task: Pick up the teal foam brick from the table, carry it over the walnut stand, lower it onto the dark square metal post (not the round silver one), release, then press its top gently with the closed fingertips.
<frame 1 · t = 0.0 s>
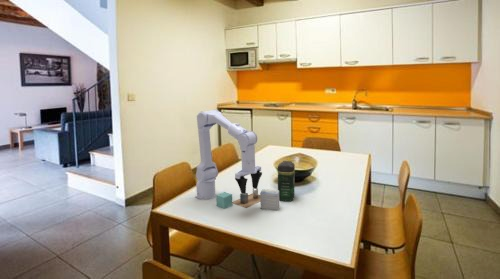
hand: (249, 190, 130), 10 cm above the table, fingers open, 7 cm apart
stand plate: (250, 201, 144), on the table
medicine box: (270, 209, 135), on the table
square post: (244, 202, 141), resting on stand plate
coffee jar: (286, 199, 146), on the table
round post: (255, 197, 147), resting on stand plate
teal foam brick: (224, 207, 139), on the table
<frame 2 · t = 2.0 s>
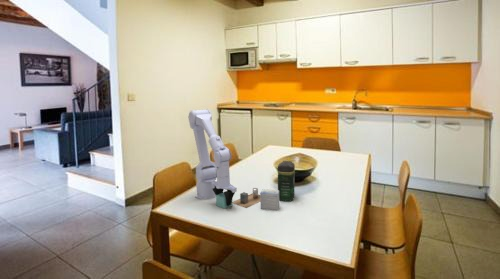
hand: (224, 203, 138), 2 cm above the table, fingers closed on teal foam brick, 5 cm apart
teal foam brick: (224, 207, 139), on the table, touching gripper
everything else where it was.
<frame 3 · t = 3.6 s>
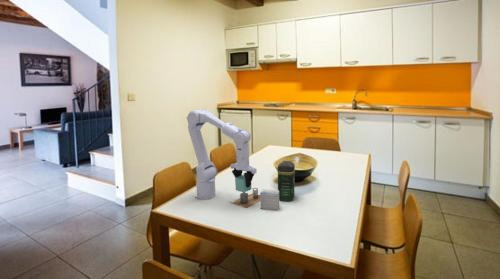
hand: (243, 185, 139), 9 cm above the table, fingers closed on teal foam brick, 5 cm apart
teal foam brick: (243, 189, 140), point 7 cm above the table, touching gripper
everything else where it was.
when the fingers open (4 cm above the table, at t = 5.4 s): teal foam brick stays where it is, resting on stand plate.
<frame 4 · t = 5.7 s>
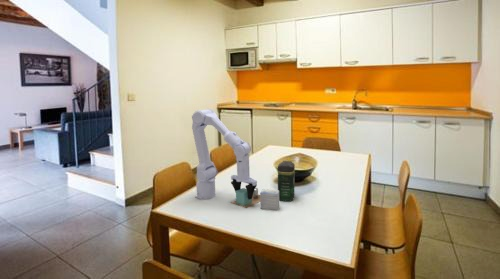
hand: (244, 197, 141), 4 cm above the table, fingers open, 7 cm apart
teal foam brick: (244, 202, 141), point 1 cm above the table, touching stand plate
everything else where it was.
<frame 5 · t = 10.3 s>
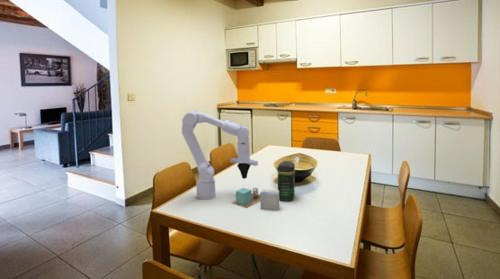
hand: (244, 177, 148), 10 cm above the table, fingers closed
nothing on the table moved.
at the end: teal foam brick 0.2 cm from the square post (horizontally); teal foam brick point 0.8 cm above the table; the gripper is holding nothing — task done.
